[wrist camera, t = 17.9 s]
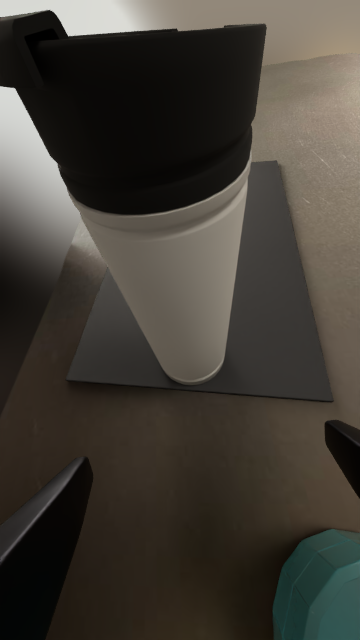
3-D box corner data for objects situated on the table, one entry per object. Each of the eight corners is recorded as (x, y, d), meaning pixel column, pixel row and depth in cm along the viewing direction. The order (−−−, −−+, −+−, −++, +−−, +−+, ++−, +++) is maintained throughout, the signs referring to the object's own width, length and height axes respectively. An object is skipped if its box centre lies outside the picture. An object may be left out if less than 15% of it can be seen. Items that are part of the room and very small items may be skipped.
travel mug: (144, 363, 22) (-87, 34, 5) (185, 316, 24) (125, -19, 7) (197, 404, 19) (98, 9, 2) (236, 346, 22) (331, -60, 5)
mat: (331, 402, 18) (334, 401, 18) (67, 381, 22) (65, 379, 22) (276, 162, 39) (277, 160, 39) (143, 172, 43) (143, 170, 42)
